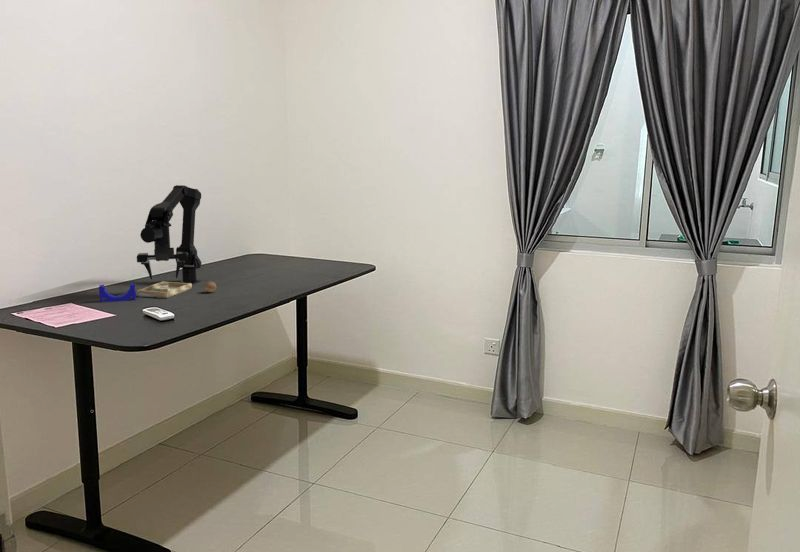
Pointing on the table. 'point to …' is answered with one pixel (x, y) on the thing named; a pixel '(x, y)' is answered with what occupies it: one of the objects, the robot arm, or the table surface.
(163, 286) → the tall beige post
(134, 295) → the cable clip
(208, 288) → the bead
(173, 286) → the tray
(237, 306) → the table surface
